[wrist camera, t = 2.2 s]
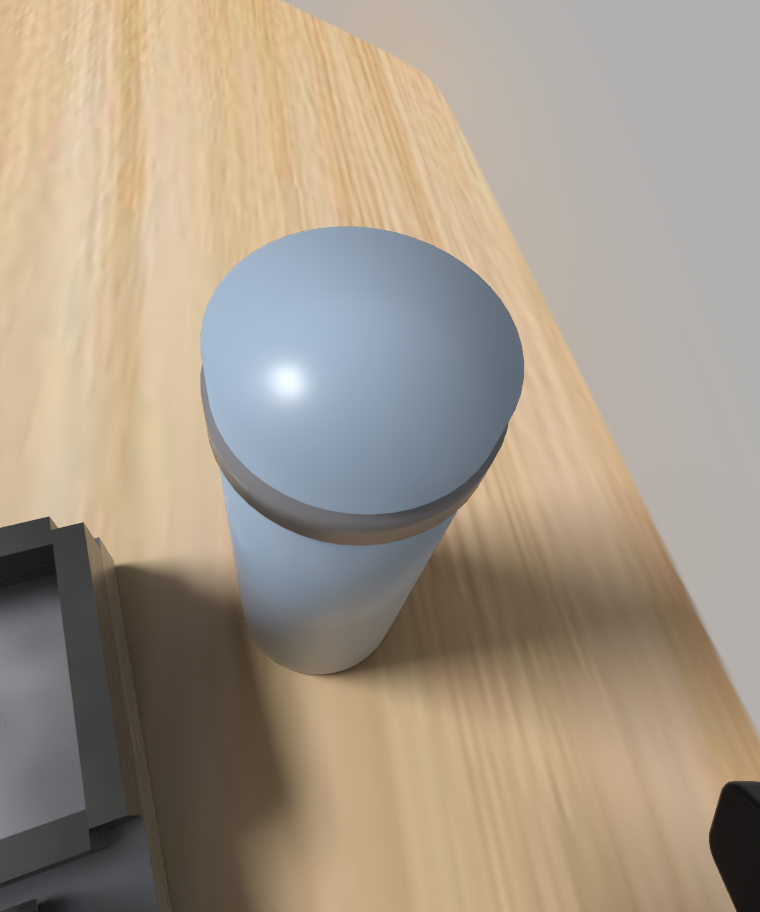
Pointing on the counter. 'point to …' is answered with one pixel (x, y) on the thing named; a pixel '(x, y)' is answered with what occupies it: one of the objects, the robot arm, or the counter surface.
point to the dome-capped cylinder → (349, 427)
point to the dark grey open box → (70, 734)
